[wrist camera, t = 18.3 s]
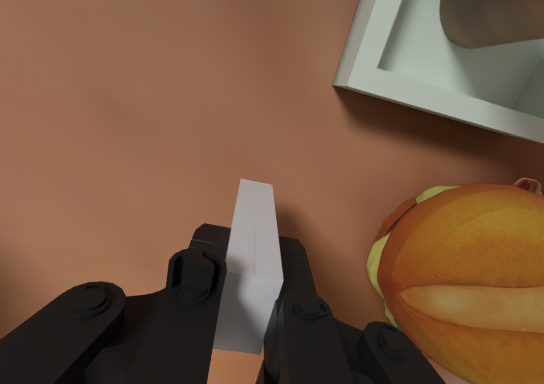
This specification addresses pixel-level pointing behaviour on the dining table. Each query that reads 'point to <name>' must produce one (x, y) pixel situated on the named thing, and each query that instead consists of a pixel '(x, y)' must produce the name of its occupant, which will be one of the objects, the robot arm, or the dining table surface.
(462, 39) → the dowel
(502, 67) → the tray
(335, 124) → the dining table surface
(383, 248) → the cheeseburger
